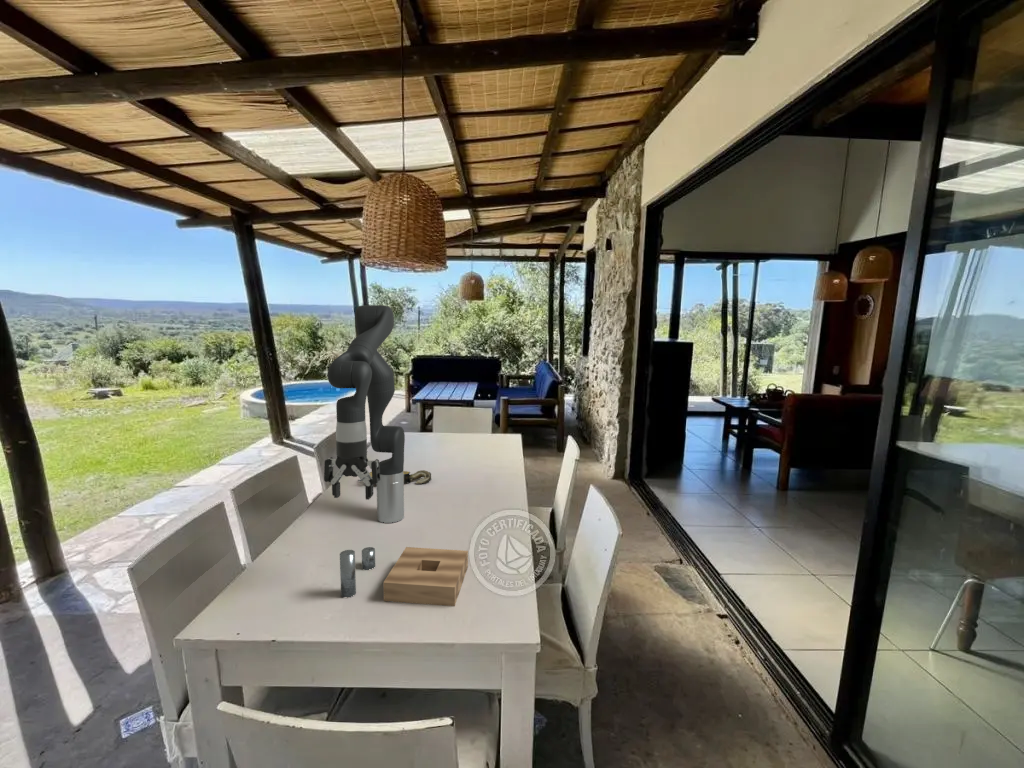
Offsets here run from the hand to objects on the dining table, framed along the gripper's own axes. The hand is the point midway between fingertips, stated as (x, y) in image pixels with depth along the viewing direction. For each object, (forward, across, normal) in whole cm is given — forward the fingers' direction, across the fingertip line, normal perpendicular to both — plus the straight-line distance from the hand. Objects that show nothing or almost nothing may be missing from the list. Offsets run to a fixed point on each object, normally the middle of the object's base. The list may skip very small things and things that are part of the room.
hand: (352, 497), depth 118 cm
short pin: (+23, -1, -7) cm, 24 cm away
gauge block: (+23, -20, -1) cm, 31 cm away
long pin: (+23, -1, +6) cm, 24 cm away
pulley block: (+22, +14, -74) cm, 78 cm away
